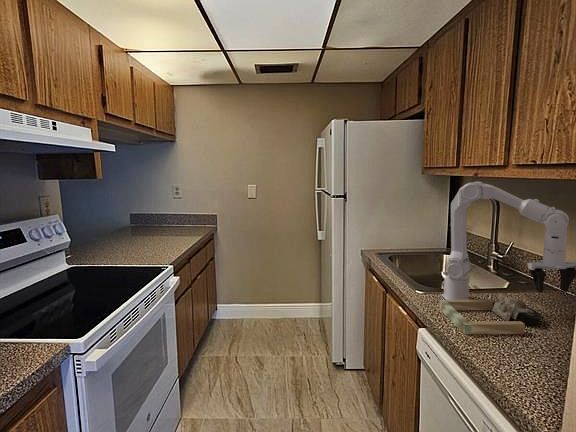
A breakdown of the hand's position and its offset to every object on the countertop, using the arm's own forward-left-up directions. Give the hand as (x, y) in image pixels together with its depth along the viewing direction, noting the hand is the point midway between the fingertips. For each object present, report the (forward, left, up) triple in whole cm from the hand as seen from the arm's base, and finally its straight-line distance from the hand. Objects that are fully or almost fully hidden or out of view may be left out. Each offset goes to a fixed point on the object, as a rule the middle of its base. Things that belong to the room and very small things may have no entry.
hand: (551, 291), depth 115 cm
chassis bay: (0, -23, -9) cm, 25 cm away
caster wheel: (0, -10, -10) cm, 14 cm away
